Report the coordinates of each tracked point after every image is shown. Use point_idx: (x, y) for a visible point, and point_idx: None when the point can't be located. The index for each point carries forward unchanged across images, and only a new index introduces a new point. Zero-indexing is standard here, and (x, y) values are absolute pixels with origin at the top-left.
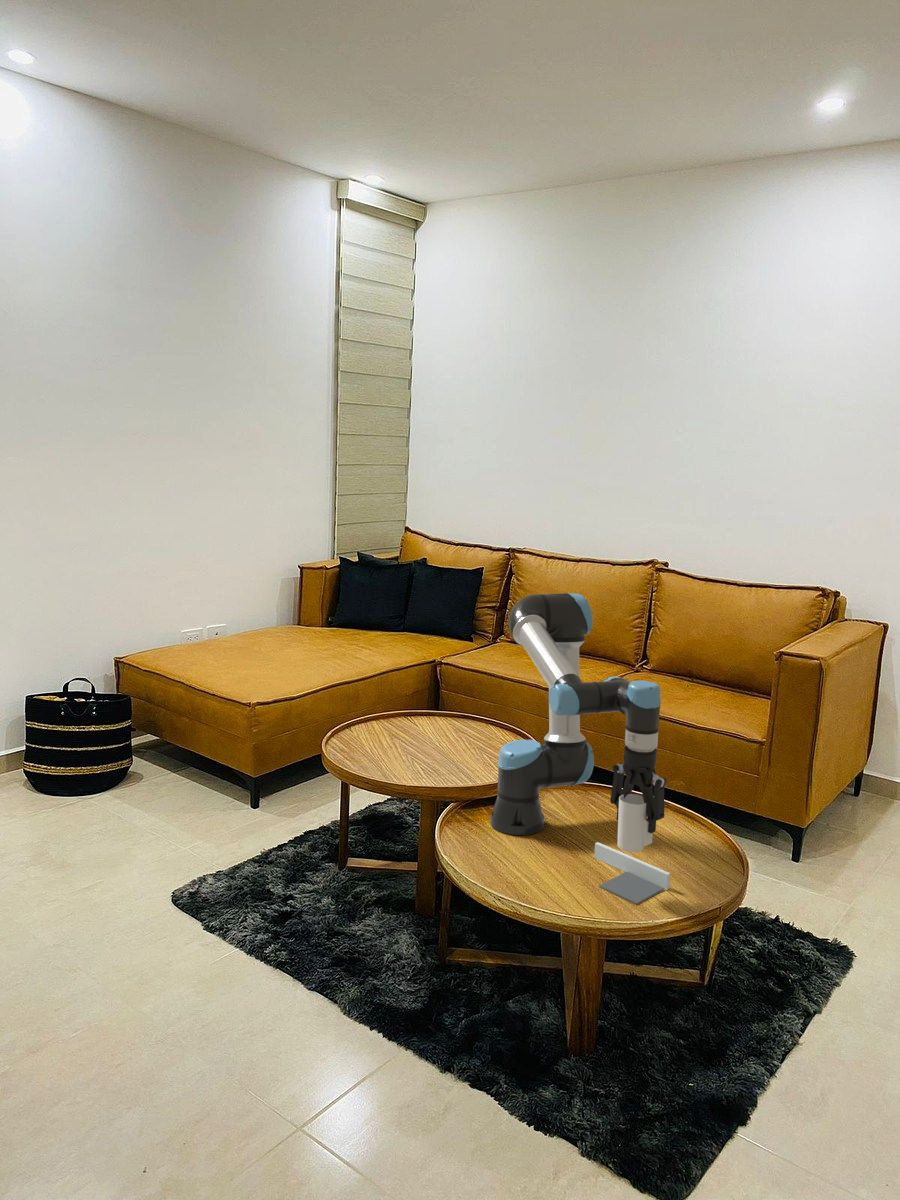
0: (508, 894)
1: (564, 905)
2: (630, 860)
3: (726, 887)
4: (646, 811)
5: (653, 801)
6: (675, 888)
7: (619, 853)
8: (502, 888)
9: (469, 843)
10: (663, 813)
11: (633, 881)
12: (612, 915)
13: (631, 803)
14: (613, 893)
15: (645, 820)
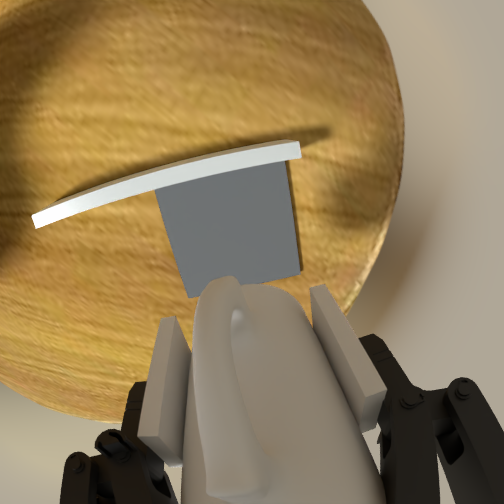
0: None
1: None
2: (152, 188)
3: (353, 16)
4: (383, 472)
5: (434, 500)
6: (293, 122)
7: (105, 199)
8: None
9: (3, 367)
10: (481, 405)
11: (209, 207)
12: None
13: (199, 487)
14: None
15: (363, 428)
